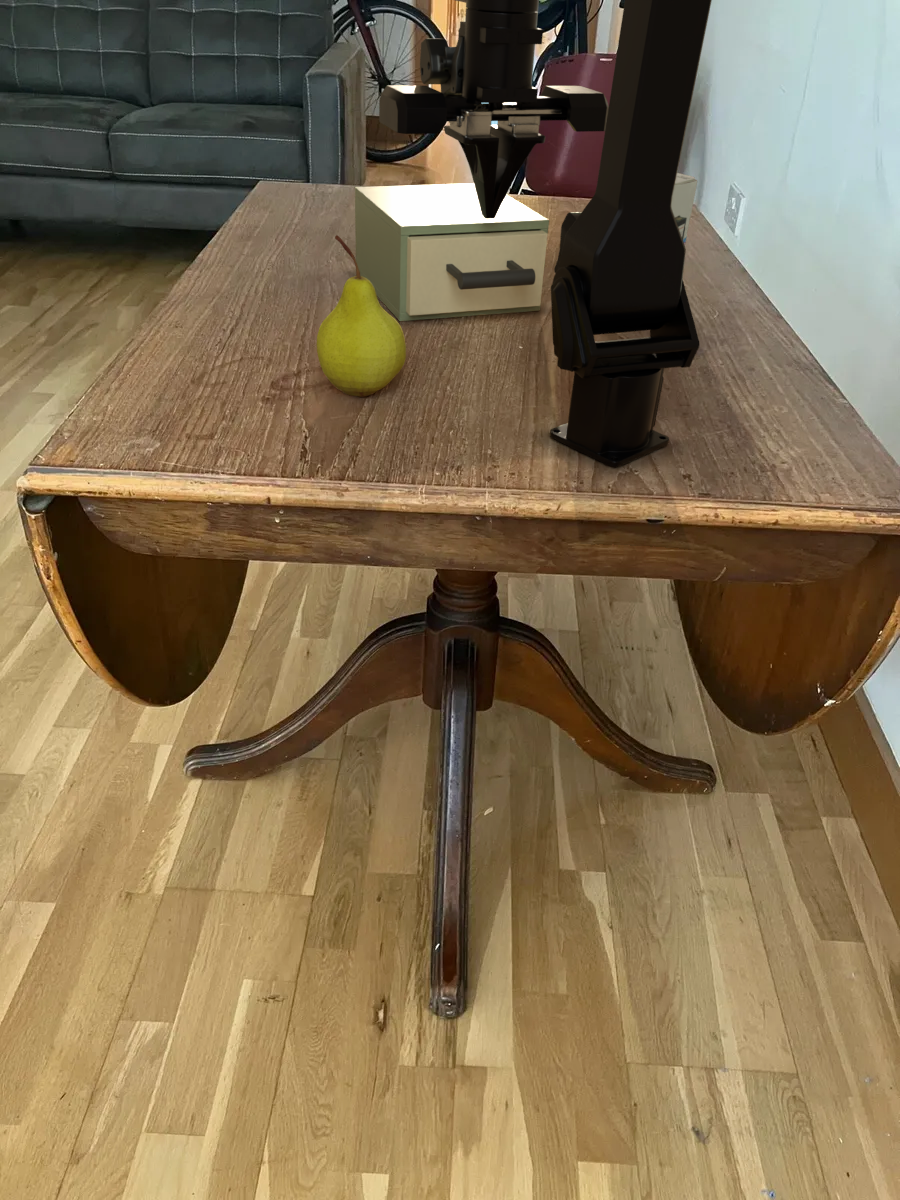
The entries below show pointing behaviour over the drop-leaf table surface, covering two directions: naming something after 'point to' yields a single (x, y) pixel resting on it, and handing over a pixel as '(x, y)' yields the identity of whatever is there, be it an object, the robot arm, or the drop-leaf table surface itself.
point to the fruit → (360, 340)
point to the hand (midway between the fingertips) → (488, 217)
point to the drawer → (474, 271)
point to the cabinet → (424, 233)
